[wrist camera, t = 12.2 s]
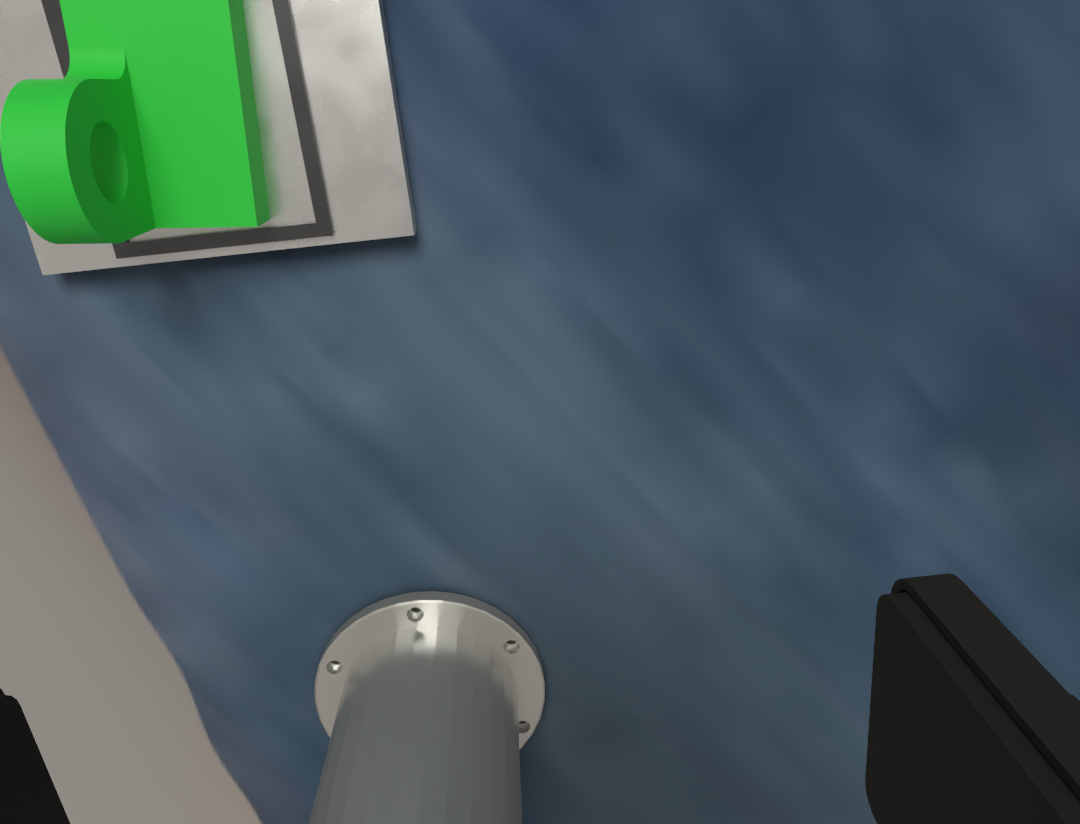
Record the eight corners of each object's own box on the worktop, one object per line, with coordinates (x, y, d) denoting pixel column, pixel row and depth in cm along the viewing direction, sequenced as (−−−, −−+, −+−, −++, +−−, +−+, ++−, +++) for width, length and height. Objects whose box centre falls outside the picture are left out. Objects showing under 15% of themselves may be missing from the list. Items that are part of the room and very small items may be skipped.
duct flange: (417, 229, 37) (413, 236, 35) (60, 268, 36) (39, 276, 35) (352, -199, 31) (344, -216, 29) (-76, -156, 31) (-108, -170, 29)
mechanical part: (269, 219, 35) (209, 255, 27) (125, 221, 34) (24, 257, 27) (229, -110, 30) (144, -174, 23) (63, -111, 30) (-78, -176, 23)
